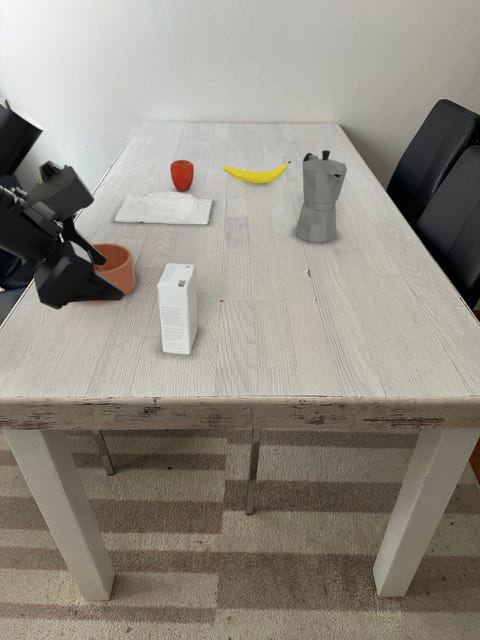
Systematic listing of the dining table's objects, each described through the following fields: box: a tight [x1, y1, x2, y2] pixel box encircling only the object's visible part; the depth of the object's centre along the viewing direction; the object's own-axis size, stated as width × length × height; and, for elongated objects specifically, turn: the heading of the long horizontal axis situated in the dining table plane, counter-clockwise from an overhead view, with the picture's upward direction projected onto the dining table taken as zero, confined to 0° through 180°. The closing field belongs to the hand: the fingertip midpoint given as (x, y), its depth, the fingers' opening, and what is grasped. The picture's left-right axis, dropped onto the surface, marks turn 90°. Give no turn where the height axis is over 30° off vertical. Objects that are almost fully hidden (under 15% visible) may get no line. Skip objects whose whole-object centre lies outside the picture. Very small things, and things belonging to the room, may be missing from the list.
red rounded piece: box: [169, 159, 195, 192], centre depth 117 cm, size 6×6×8 cm
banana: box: [220, 160, 292, 185], centre depth 122 cm, size 3×19×6 cm, turn 92°
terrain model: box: [113, 191, 213, 226], centre depth 106 cm, size 17×23×5 cm
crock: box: [87, 242, 137, 303], centre depth 78 cm, size 11×11×6 cm
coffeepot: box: [295, 149, 348, 244], centre depth 94 cm, size 15×9×18 cm, turn 18°
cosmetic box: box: [156, 263, 199, 355], centre depth 64 cm, size 6×4×12 cm
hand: (113, 278), depth 56 cm, fingers open, 9 cm apart
